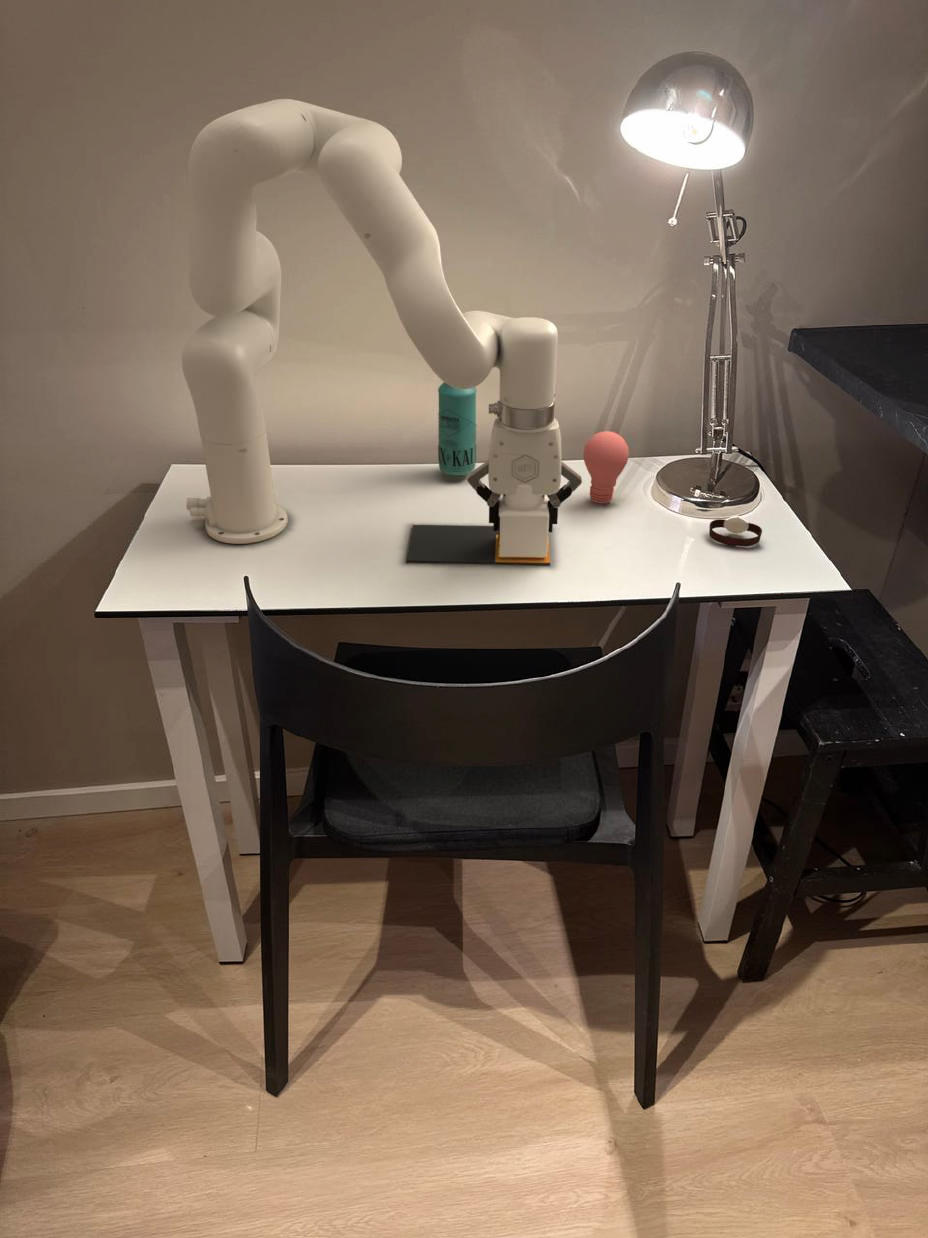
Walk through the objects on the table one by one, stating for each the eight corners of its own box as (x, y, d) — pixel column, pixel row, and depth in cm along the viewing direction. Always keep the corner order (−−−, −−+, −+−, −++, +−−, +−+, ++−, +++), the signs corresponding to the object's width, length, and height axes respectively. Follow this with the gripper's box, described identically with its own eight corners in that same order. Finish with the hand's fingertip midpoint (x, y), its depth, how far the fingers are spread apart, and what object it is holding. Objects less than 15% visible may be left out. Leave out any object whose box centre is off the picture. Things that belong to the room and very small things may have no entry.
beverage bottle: (441, 466, 167) (439, 354, 156) (479, 468, 166) (479, 355, 155) (435, 483, 162) (432, 367, 150) (474, 485, 161) (474, 369, 150)
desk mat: (406, 562, 140) (406, 559, 139) (413, 526, 149) (412, 524, 148) (550, 565, 139) (550, 562, 139) (548, 529, 148) (548, 526, 148)
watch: (760, 536, 146) (764, 515, 144) (758, 551, 142) (763, 530, 140) (709, 529, 148) (712, 508, 145) (706, 543, 144) (709, 522, 142)
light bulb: (622, 514, 152) (629, 443, 145) (577, 510, 153) (582, 440, 146) (625, 494, 158) (632, 425, 151) (582, 490, 159) (587, 422, 152)
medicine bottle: (498, 534, 145) (499, 461, 138) (545, 534, 145) (548, 461, 138) (498, 558, 139) (499, 483, 132) (547, 558, 139) (550, 483, 132)
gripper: (461, 422, 127) (462, 538, 137) (592, 424, 127) (583, 541, 137) (464, 401, 134) (464, 514, 143) (588, 403, 133) (580, 516, 143)
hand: (522, 526), depth 140 cm, fingers closed on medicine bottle, 7 cm apart
